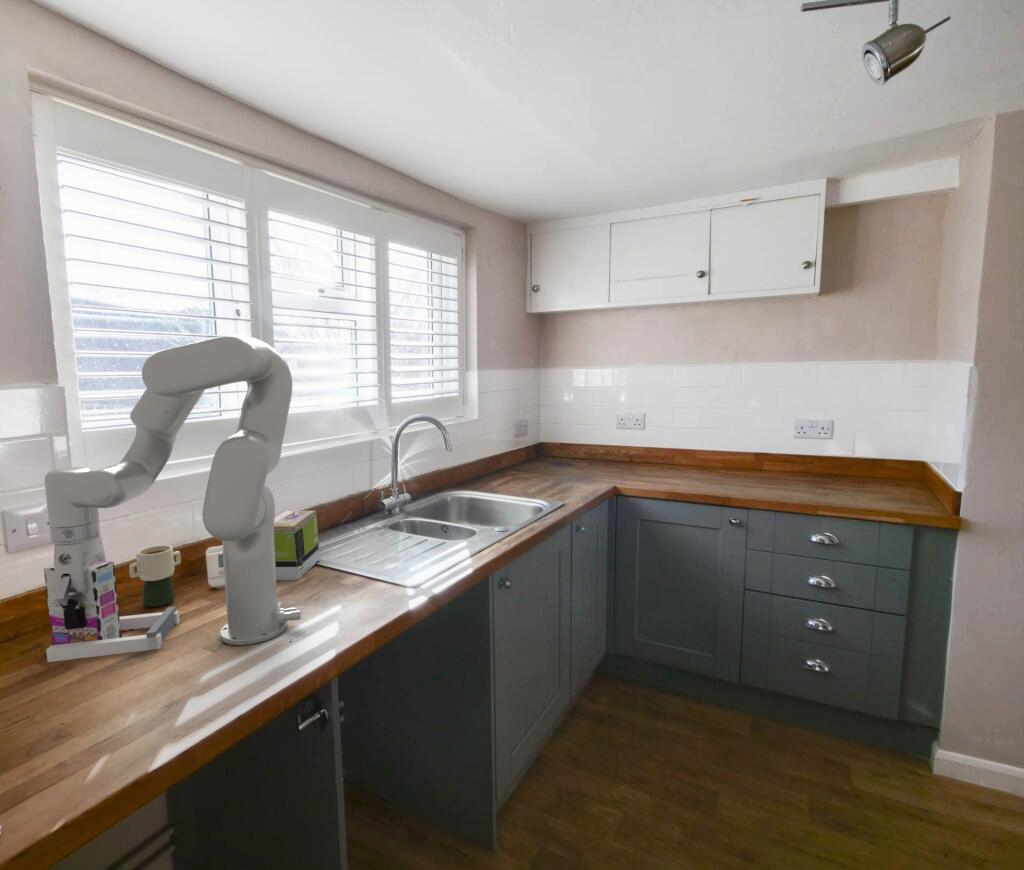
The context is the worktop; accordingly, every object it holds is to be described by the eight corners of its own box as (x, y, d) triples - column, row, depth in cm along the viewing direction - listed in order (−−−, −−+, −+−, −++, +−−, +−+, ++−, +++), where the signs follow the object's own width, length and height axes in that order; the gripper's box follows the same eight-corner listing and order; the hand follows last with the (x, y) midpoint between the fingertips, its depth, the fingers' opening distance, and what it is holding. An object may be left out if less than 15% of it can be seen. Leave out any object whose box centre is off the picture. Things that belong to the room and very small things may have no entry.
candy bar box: (123, 639, 111) (115, 560, 109) (102, 652, 106) (93, 570, 104) (74, 636, 113) (65, 558, 111) (51, 648, 108) (41, 567, 106)
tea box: (286, 560, 157) (282, 509, 155) (320, 560, 156) (318, 509, 154) (259, 580, 142) (256, 524, 140) (298, 581, 141) (295, 525, 139)
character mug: (175, 592, 135) (171, 540, 133) (191, 598, 131) (187, 545, 129) (125, 609, 125) (120, 553, 124) (141, 616, 122) (135, 559, 120)
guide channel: (179, 621, 119) (178, 606, 119) (159, 648, 107) (158, 631, 107) (79, 632, 114) (77, 616, 114) (47, 662, 103) (45, 644, 102)
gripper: (75, 543, 99) (85, 637, 102) (117, 518, 116) (125, 599, 118) (26, 547, 98) (37, 643, 100) (75, 521, 114) (84, 603, 116)
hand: (85, 618), depth 109 cm, fingers closed on candy bar box, 6 cm apart
